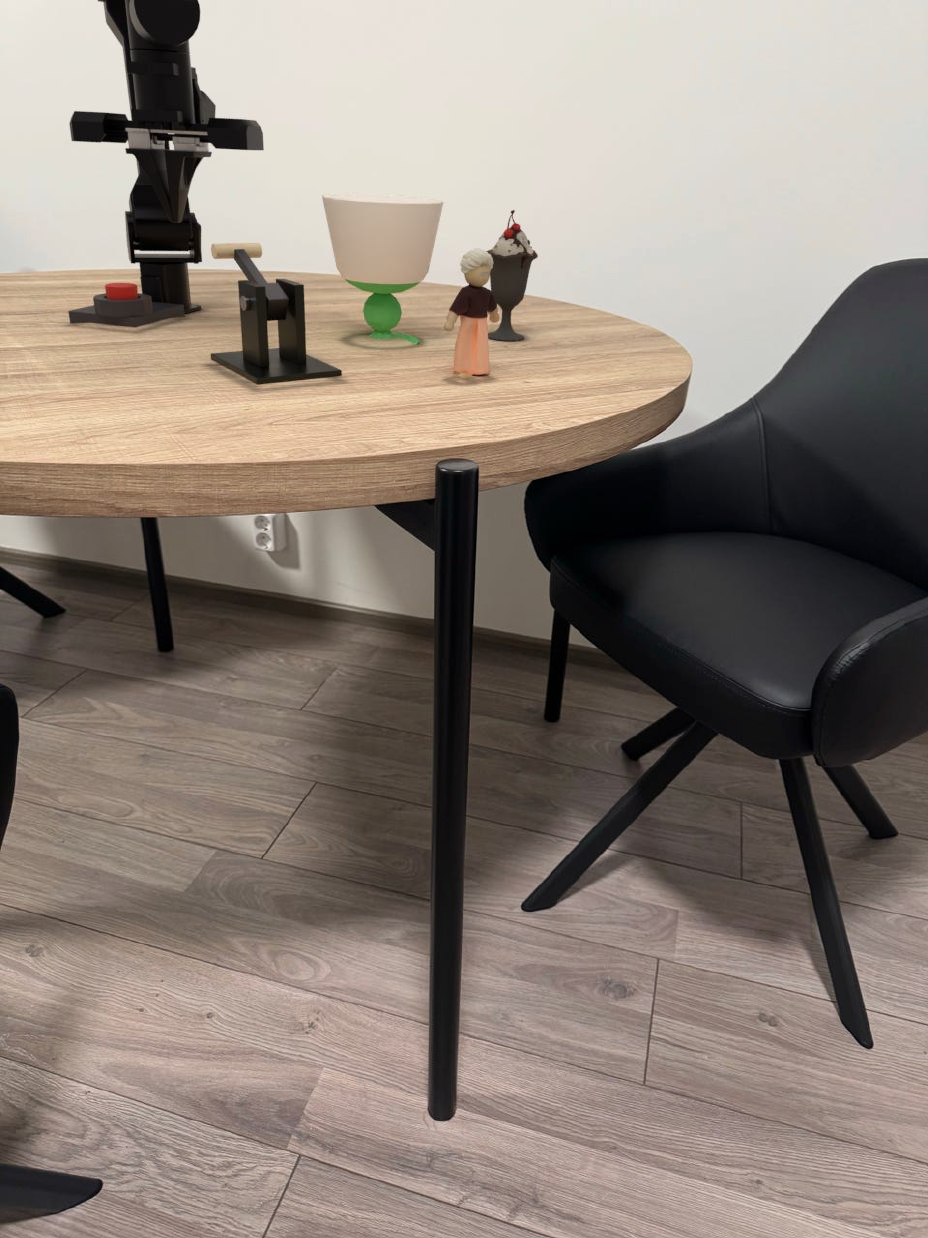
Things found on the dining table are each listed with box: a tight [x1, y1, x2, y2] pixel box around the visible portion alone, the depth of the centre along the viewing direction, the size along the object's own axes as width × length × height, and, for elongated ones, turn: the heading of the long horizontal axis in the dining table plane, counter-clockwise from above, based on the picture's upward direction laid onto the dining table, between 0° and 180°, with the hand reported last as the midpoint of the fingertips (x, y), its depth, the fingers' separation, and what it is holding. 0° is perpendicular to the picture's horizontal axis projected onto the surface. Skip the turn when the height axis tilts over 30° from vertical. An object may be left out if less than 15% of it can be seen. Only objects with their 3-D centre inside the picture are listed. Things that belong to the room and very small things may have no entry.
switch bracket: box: [210, 278, 343, 386], centre depth 91 cm, size 12×9×9 cm
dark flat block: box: [67, 292, 186, 328], centre depth 112 cm, size 12×9×4 cm
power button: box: [104, 282, 139, 300], centre depth 109 cm, size 4×4×2 cm
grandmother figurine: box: [443, 247, 501, 379], centre depth 92 cm, size 8×4×13 cm, turn 148°
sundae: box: [485, 209, 539, 342], centre depth 112 cm, size 7×7×15 cm
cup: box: [321, 192, 444, 345], centre depth 106 cm, size 14×14×16 cm
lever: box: [210, 242, 289, 322], centre depth 92 cm, size 11×5×2 cm, turn 34°
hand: (176, 222), depth 98 cm, fingers closed
